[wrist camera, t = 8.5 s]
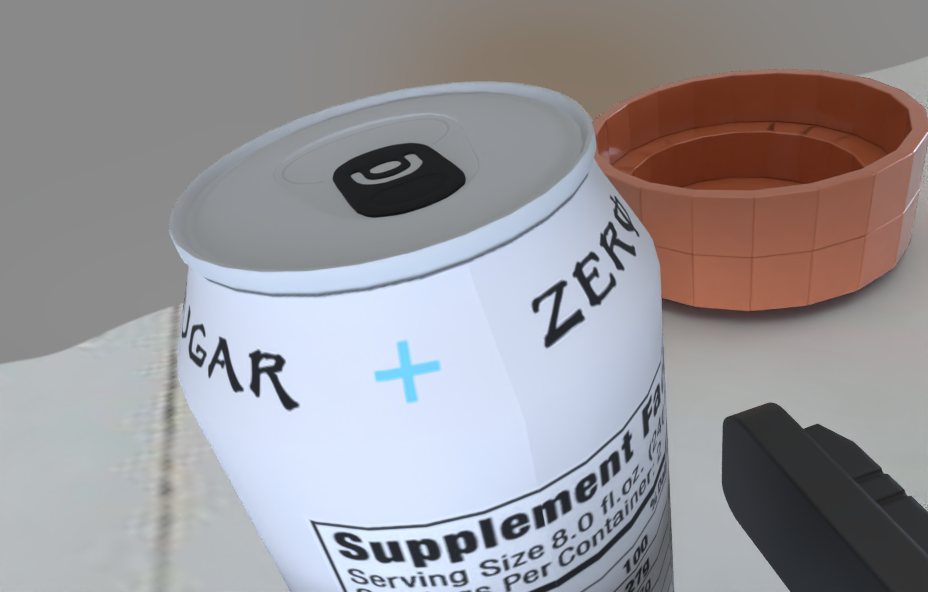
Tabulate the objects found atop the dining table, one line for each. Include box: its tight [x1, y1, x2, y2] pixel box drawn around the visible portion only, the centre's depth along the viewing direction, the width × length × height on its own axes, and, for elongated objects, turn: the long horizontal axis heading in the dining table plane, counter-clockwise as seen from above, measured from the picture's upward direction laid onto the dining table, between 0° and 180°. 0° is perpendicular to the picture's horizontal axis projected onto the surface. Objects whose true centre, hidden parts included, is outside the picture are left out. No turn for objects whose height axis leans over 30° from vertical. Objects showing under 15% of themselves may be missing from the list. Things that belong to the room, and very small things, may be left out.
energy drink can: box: [169, 81, 674, 592], centre depth 12 cm, size 6×6×15 cm
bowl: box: [593, 69, 928, 311], centre depth 31 cm, size 13×13×6 cm
